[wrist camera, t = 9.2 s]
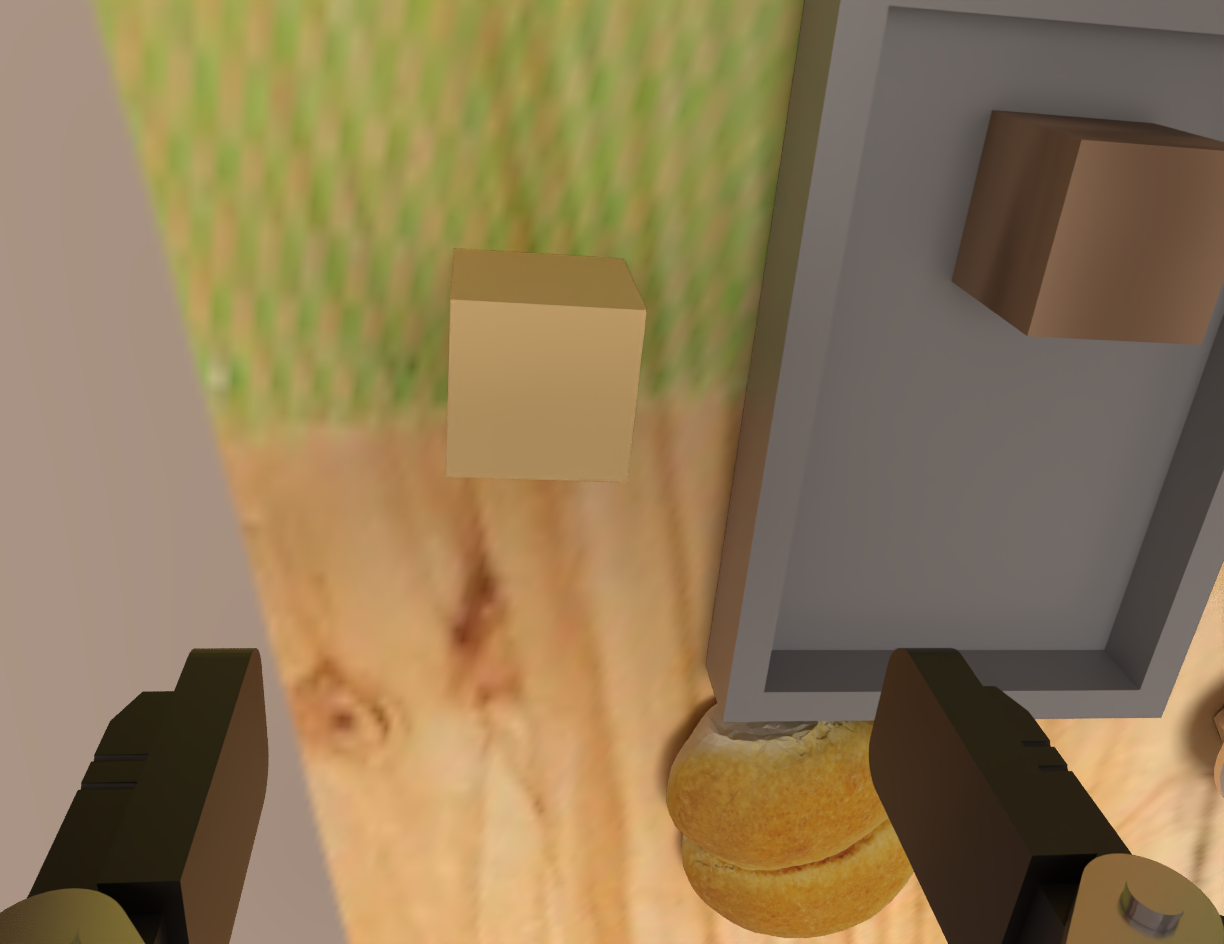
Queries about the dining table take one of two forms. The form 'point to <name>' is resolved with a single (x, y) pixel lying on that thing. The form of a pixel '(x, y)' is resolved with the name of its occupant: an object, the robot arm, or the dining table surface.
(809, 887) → the bread roll
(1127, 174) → the walnut block
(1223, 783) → the screw
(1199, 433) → the tray
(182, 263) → the dining table surface
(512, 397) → the ochre block
